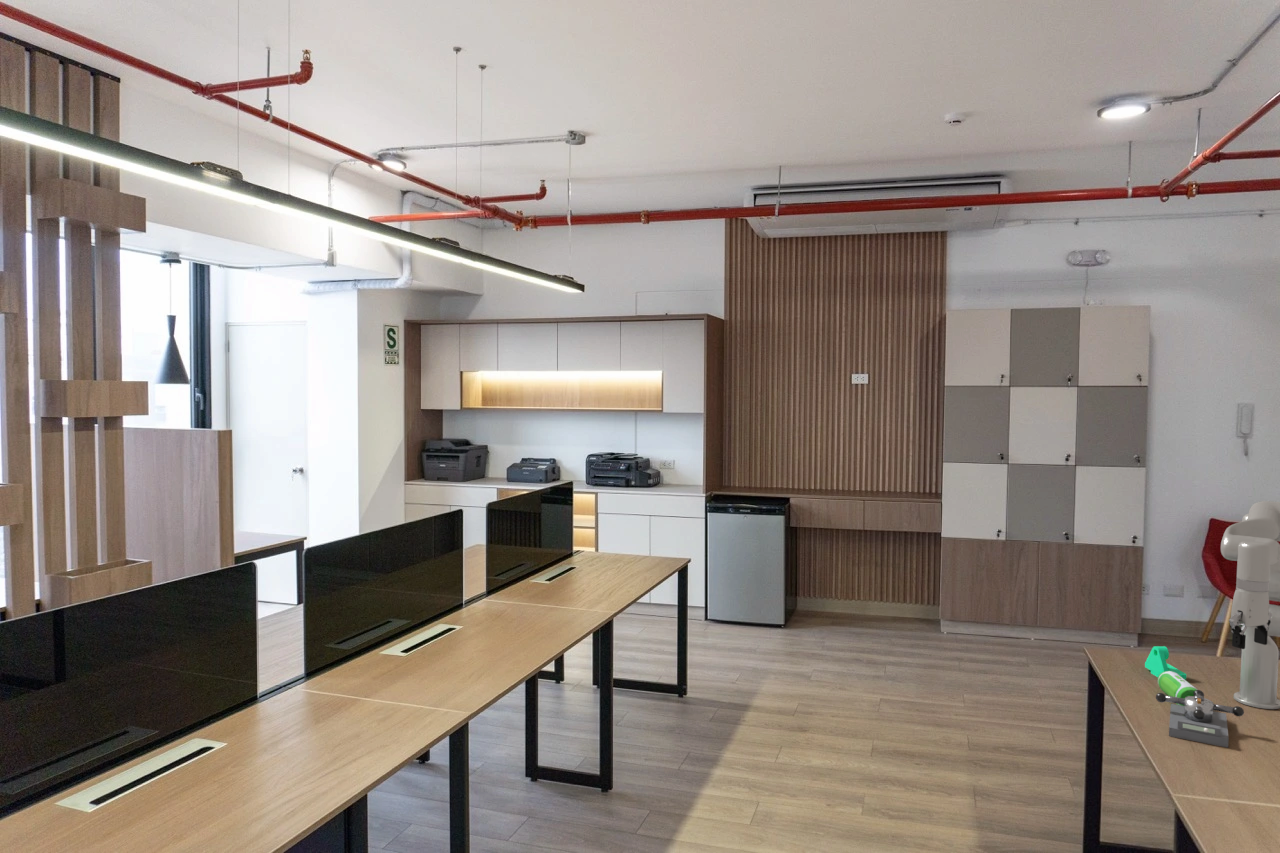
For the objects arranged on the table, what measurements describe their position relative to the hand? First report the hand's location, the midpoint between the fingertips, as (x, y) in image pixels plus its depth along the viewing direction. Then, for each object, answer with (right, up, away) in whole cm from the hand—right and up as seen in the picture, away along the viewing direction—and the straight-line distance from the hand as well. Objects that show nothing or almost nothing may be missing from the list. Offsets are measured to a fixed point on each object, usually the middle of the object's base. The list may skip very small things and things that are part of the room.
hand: (1249, 645), depth 243 cm
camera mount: (+10, -25, +55) cm, 61 cm away
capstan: (-7, -24, +11) cm, 27 cm away
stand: (-9, -27, +9) cm, 29 cm away
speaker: (-1, -26, +31) cm, 40 cm away
